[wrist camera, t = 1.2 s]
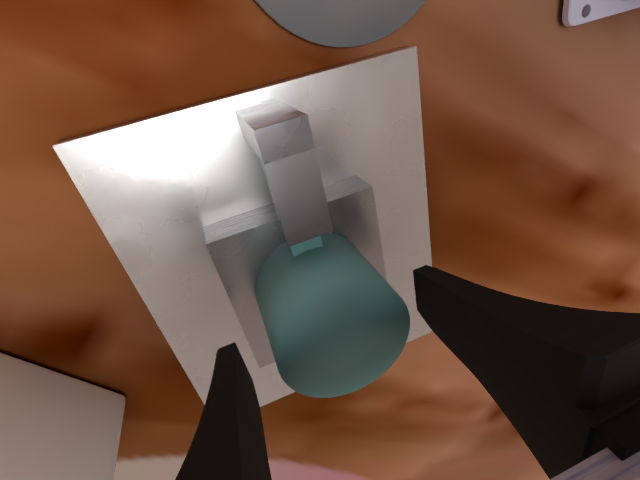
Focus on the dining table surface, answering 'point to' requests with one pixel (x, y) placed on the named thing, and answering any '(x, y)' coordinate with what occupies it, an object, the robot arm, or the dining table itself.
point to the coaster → (340, 19)
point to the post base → (260, 199)
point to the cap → (329, 316)
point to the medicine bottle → (56, 425)
